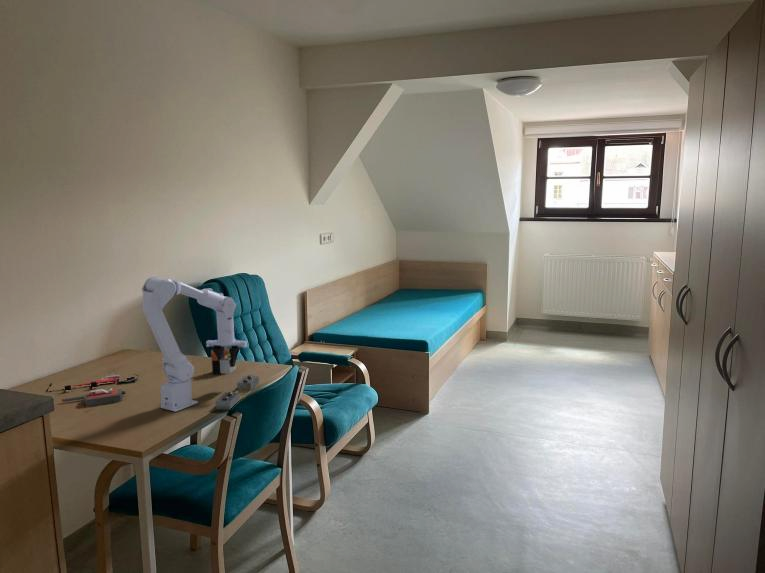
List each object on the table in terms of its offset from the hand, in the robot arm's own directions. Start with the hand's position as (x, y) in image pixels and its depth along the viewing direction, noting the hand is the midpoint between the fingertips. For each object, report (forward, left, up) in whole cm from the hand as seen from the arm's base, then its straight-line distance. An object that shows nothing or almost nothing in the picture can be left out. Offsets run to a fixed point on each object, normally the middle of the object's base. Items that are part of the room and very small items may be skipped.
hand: (227, 366), depth 201 cm
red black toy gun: (-21, +51, -10) cm, 56 cm away
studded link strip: (-3, -8, -9) cm, 12 cm away
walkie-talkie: (-32, +32, -9) cm, 46 cm away
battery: (+13, +19, -9) cm, 24 cm away
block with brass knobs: (0, 0, -2) cm, 2 cm away
